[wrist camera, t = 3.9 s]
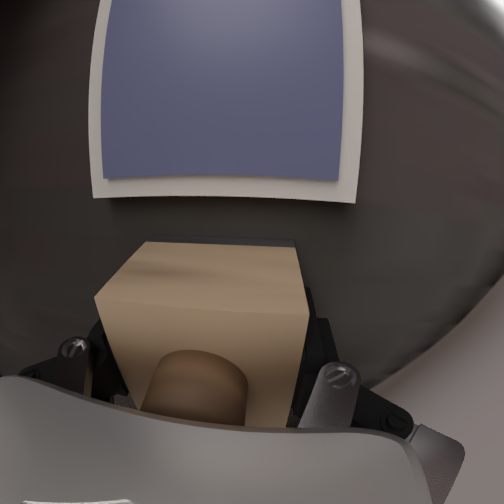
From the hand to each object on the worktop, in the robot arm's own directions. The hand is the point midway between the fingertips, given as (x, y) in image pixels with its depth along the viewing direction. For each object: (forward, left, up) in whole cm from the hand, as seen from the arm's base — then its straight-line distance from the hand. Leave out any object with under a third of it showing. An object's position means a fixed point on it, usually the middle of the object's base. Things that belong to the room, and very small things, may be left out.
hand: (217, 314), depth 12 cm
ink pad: (+10, 0, -1) cm, 10 cm away
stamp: (0, 0, -1) cm, 1 cm away
